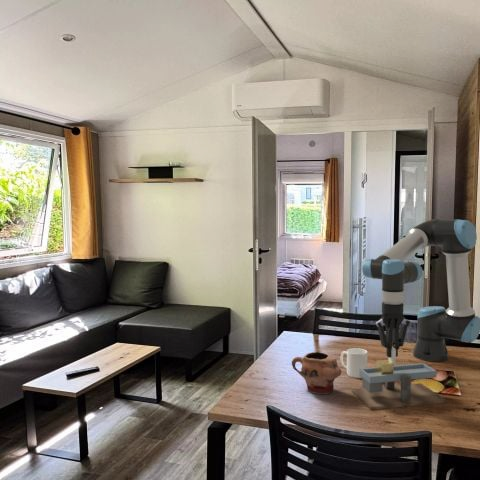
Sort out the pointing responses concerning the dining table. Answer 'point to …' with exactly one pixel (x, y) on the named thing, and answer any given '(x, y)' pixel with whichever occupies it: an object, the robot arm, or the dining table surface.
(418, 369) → the grey long tray
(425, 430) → the dining table surface
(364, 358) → the cup
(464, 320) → the robot arm
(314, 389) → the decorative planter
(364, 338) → the dining table surface
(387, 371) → the block
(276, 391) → the dining table surface
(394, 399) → the low stand
